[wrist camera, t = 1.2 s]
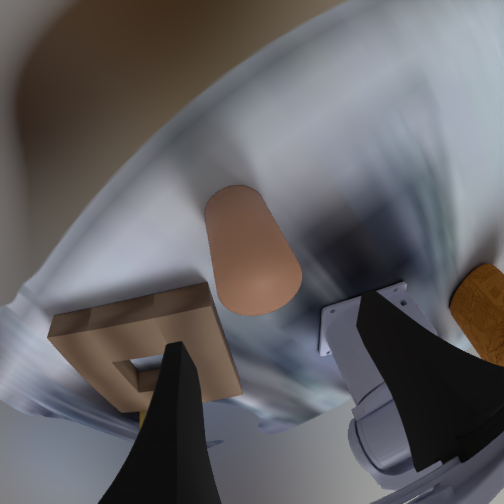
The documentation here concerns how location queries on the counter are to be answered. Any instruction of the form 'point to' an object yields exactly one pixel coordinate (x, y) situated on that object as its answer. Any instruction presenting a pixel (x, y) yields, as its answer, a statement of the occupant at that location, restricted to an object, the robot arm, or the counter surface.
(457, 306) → the wine bottle
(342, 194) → the counter surface
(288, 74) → the counter surface
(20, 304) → the counter surface
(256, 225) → the peg
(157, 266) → the counter surface
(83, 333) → the socket block
